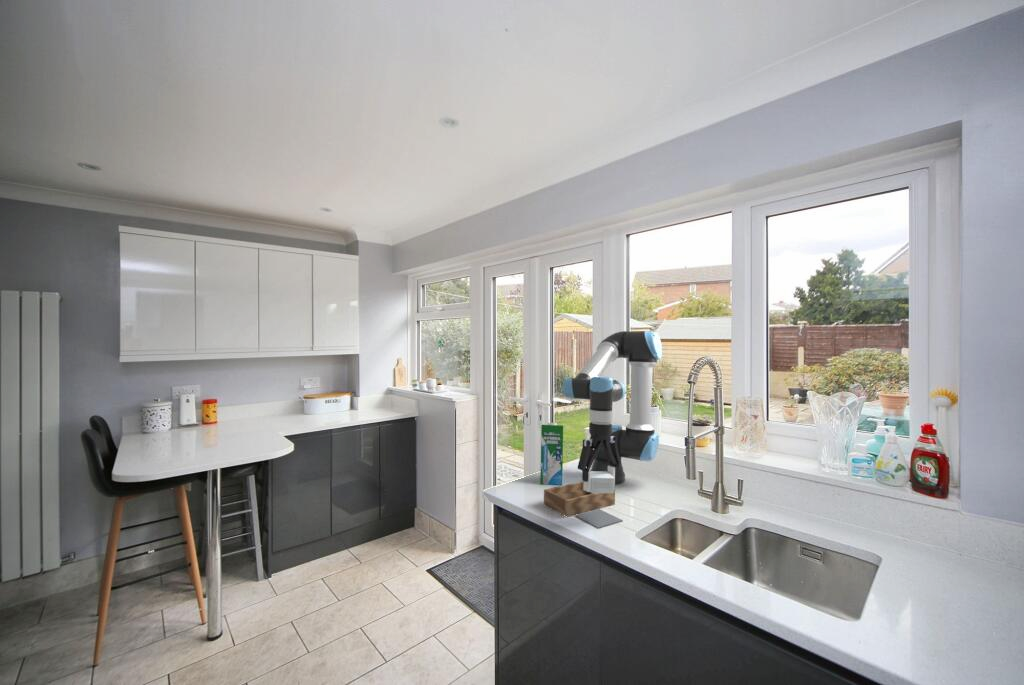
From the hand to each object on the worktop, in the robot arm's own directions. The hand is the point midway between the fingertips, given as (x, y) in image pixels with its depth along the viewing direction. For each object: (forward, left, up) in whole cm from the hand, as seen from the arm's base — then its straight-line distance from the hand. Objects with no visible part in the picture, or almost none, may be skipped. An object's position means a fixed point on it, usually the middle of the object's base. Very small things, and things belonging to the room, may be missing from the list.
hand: (599, 488), depth 144 cm
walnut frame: (-3, -13, -10) cm, 17 cm away
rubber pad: (0, 0, -10) cm, 10 cm away
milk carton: (-10, -39, -11) cm, 41 cm away
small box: (0, 0, -1) cm, 1 cm away
